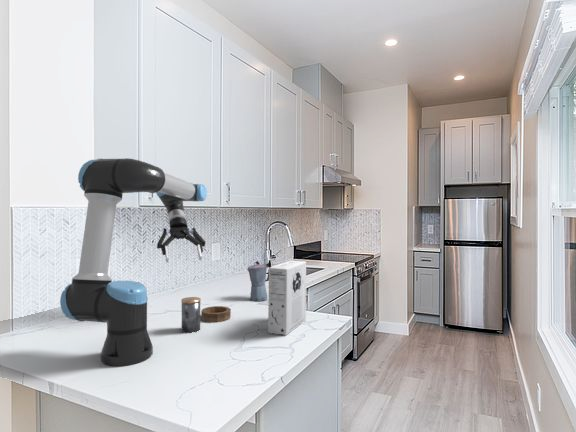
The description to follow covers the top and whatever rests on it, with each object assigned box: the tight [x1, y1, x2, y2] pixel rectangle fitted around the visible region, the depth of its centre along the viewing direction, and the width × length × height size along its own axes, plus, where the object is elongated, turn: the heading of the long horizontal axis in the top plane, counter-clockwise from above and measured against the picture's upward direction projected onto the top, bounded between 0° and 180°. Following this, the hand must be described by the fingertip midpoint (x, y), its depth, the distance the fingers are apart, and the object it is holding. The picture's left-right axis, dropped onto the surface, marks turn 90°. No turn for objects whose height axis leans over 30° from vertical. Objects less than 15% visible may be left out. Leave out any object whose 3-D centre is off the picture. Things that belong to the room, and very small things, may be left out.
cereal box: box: [267, 260, 307, 336], centre depth 150 cm, size 22×8×25 cm, turn 157°
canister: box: [180, 296, 202, 334], centre depth 144 cm, size 7×7×12 cm
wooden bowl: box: [200, 305, 232, 323], centre depth 160 cm, size 12×12×4 cm
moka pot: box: [246, 260, 272, 302], centre depth 193 cm, size 10×15×20 cm, turn 137°
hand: (184, 259), depth 155 cm, fingers open, 13 cm apart
